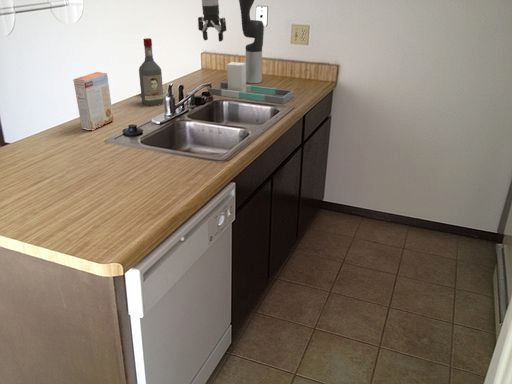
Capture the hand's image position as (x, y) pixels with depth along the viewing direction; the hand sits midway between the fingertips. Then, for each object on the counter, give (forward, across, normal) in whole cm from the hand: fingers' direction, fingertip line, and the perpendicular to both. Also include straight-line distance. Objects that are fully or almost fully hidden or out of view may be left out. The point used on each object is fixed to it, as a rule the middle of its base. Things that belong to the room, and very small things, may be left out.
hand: (213, 40), depth 224 cm
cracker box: (+25, +19, +61) cm, 69 cm away
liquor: (+27, +22, +23) cm, 42 cm away
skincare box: (+30, -2, -14) cm, 33 cm away
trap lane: (+30, -10, -15) cm, 35 cm away
